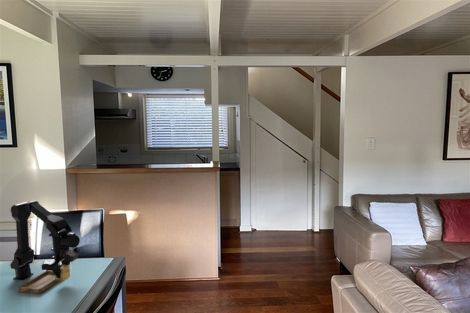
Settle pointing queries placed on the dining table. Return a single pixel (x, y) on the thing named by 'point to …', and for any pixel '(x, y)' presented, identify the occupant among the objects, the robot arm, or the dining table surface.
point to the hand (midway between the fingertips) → (62, 275)
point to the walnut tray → (39, 283)
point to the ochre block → (64, 272)
